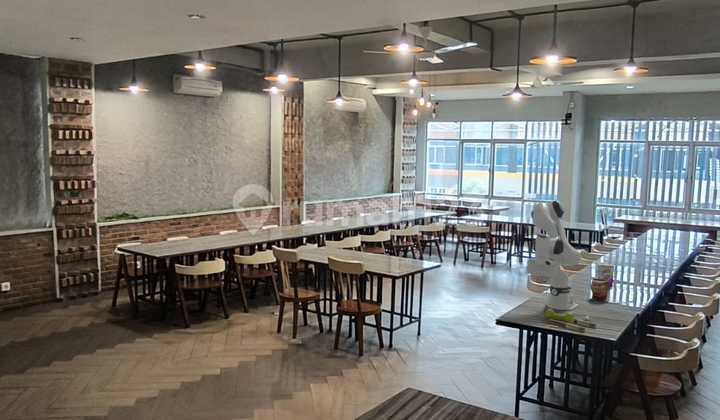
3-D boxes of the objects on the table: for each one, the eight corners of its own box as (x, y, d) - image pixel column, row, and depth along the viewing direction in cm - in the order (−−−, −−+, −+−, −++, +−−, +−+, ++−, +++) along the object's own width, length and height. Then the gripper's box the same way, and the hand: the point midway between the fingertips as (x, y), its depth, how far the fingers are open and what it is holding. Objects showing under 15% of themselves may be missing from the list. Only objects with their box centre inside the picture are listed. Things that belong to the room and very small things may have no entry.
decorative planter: (592, 294, 416) (593, 275, 415) (610, 297, 410) (611, 277, 409) (587, 300, 399) (588, 281, 397) (606, 303, 393) (607, 283, 391)
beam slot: (555, 317, 356) (555, 313, 356) (595, 327, 337) (595, 323, 337) (542, 321, 347) (542, 317, 347) (583, 332, 328) (583, 327, 328)
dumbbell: (543, 321, 349) (544, 309, 348) (549, 318, 355) (549, 307, 354) (570, 326, 338) (571, 314, 338) (575, 323, 344) (576, 312, 344)
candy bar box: (597, 285, 446) (598, 264, 444) (596, 284, 451) (597, 263, 449) (613, 286, 442) (614, 265, 441) (612, 285, 447) (613, 264, 446)
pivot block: (585, 322, 346) (585, 316, 345) (590, 324, 344) (590, 317, 343) (582, 323, 344) (583, 316, 343) (587, 325, 342) (587, 318, 341)
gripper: (524, 258, 359) (523, 280, 360) (554, 263, 343) (553, 286, 344) (530, 257, 363) (529, 279, 364) (560, 262, 348) (559, 284, 349)
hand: (541, 282), depth 354 cm, fingers open, 8 cm apart
